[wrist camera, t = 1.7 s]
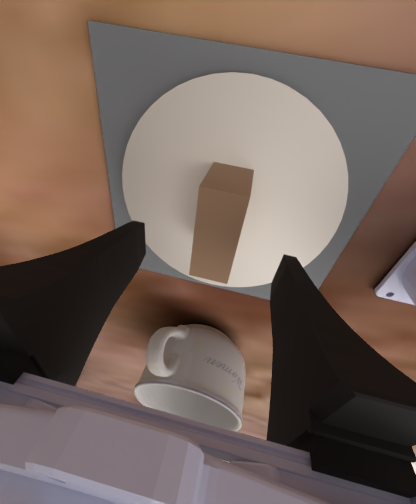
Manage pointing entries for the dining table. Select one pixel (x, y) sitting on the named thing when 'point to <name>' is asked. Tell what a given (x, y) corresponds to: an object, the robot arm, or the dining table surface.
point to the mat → (267, 65)
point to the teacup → (194, 375)
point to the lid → (234, 178)
